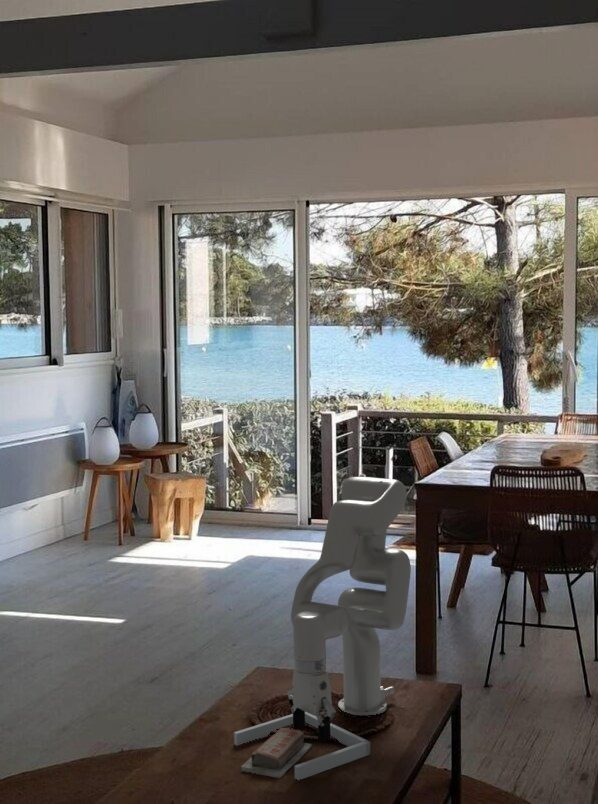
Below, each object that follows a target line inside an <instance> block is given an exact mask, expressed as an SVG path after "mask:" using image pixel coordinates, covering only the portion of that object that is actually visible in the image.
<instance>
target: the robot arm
mask: <svg viewBox="0 0 598 804" xmlns="http://www.w3.org/2000/svg"><path fill="white" fill-rule="evenodd" d="M407 494H408V492H407V489H406V486H405V485H404V483H403V482H402V481H400V480H398V479H393V478H383V477H381V478H380V477H372V476H352V477H348V478H345V479H344V481H343V482H342V485H341V497H342V500H338V501H336V502H334V503H333V504H332V506H331V508H330V510H329V516H328V519H327V524H326V529H325V534H324V538H323V543H322V549H321V552H320V553H321V554H320V557H319V559H318V560H317V561H316V562H315V563H314V564H313V565H312V566H311V567H309V569H308V570H307V571H305V574H304V575H303V576H302V577H301V579H300V580H299V582H298V584H297V585H296V588H295V592H294V596H293V600H292V601H293V602H292V605H291V613H290V618H291V619H290V620H291V621H290V622H291V624H292V626H293V629H292V630H293V632H292V633H293V659H294V660H293V663H294V665H293V673H292V685H291V686H292V687H291V689H289V690H287V691H286V694H287V696H288V699H289V700H288V702H289V705H290V707H291V708H290V711H291V713H292V714H293V728H292V729H296V730H300V729H301V728H305V727H306V725H305V712H307V713H310V714H312V715H314V716H316V717H317V719H318V721H319V724H320V725H318V731H317V737H318V738H317V739H318V742H319V743H323V742H326V741H328V740H330V739H331V738H330V724H331V723H332V724H333V721H334V719H335V715H336V713H337V710H336V709H335V707H334V706H333V703H332V702H333V701H332V699H333V698H332V690H331V689H332V688H331V681H330V677H329V672H328V671H327V660H326V659H327V658H326V656H327V654H326V653H327V652H326V651H327V650H326V649H327V648H326V645H327V644H326V640H330V639H334V638H337V637H341V636H342V665H343V666H342V672H343V676H342V677H343V698H342V699H340V700H339V701H338V703H337V708H338V707H339V708H340V709H341V710H342V711H344V712H347V713H350V714H353V715H375V716H377V715H376V714H378V715H380V713H381V714H382V713H384V712H386V710H387V709H388V704H387V703H388V702H387V700H385V698H386V697H387V696H391V695H393V694H395V688H394V686H388V687H386V688H385V687H384V686H383V685H381V653H380V652H381V643H380V638H379V635H378V633H377V631H376V629H379V630H386V631H396V630H399V629H400V628H401V627H402V626H403V624H404V622H405V617H406V613H407V606H408V600H409V599H408V598H409V590H410V582H411V581H410V580H411V573H412V569H411V568H412V567H411V566H412V565H411V560H410V558H409V557H410V556H408V554H407V553H406V552H405V551H404V550H401V549H399V548H391V547H390V548H389V547H386V543H387V542H386V541H387V531H388V528H389V527H390V526H391V525H392V523H394V521H395V519H397V517H398V516H399V514H400V513H401V512H402V510H403V509H404V507H405V504H406V501H407V497H408V495H407ZM347 571H349V575H350V577H351V578H352V579H353V580H354V581H355V582H360V583H365V584H373V585H377V586H385V590H379V589H375V588H374V589H373V588H366V587H350V588H347V589H345V590H343V591H342V593H340V595H339V597H338V600H337V605H336V604H330V603H324V602H317V601H312V600H313V596H314V593H315V590H317V588H318V586H319V585H320V584H322V583H323V582H324V581H325V580H327V579H329V578H331V577H333V576H335V575H338V574H341V573H344V572H347ZM322 716H323V717H324V718H323V717H322Z"/></svg>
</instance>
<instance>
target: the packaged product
mask: <svg viewBox="0 0 598 804" xmlns="http://www.w3.org/2000/svg"><path fill="white" fill-rule="evenodd" d="M304 737H305V733H304V732H303V731H301V730H300V729H293V728H291V729H290V728H280V729H279V730H278V731H277V732H276V733H275V734H273V735H270V737H269V738H268V739H267V740H265V741H263V743H262V744H261V745H260V746H258V748H257V749H255V750H254V751H253V752H252V754H251V756H250V758H248V760H246V761H245V762H244V763H243V764H242V765H241V766H240V767H241V768H240V769H241V772H244V771H245V772H244V773H249V772H251V773H250V774H254V773H256V774H255V775H259V774H260V775H261V776H267V777H272V778H276V779H277V778H278V779H280V778H282V777H283V776H284V775H285V774H286V773H287V771H288V770H290V769H291V768H292V767H293V766H295V764H297V762H299V761H300V760H301V758H302V757H303V756H304V755H305V754H306V753H307V752H308V751H310V749H311V748H312V747H313V744H312V743H307V742H304V740H305V738H304Z"/></svg>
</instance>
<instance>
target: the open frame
mask: <svg viewBox="0 0 598 804" xmlns="http://www.w3.org/2000/svg"><path fill="white" fill-rule="evenodd" d="M305 722H306V723H308V724H310V725H312V726H314V727H316V728H318V725H320V724H319V721H318V719H317V717H316V716H314V715H312V714H310V713H307V712H305ZM291 724H293V713H291V714H289V715H285V716H282V717H281V716H280V717H278V718H275V719H272V720H269V721H266V722H262V723H259V724H256V725H254V726H250V727H246V728H244V729H239V730H237V731H234V732H233V742H234V743H233V744H234V745H235V746H236V747H239V746H242V745H244V744H243V743H245V744H248V743H250V742H249V741H251V742H253V741H252V740H254V741H256V740H255V739H257V740H260V739H264V738H266V737H269V736H270V735H269V734H270V732H271V731H273V730H276V729H279V728H281V727H284V726H287V725H291ZM268 735H269V736H268ZM330 735H331V736H333V737H335V738H336V739H337V740H338V741H339V742H338V741H337V742H338V743H340V744H342V745H344V746H346V747H343V748H342V749H338V750H336V751H333V752H330V753H327V754H325V755H322V756H319V757H316V758H312V759H310V760H308V761H307V760H306V761H305V762H302V763H299V764H296V765H295V764H294V779H295V780H296V779H297V780H296V781H301V780H303V779H306V778H309V777H311V776H314V775H317V774H319V773H322V772H323V773H324V772H325V771H327V770H331V769H333V768H336V767H339V766H342V765H345V764H347V763H351V762H354V761H356V760H358V759H361V758H364V757H366V756H369V755H371V741H369V740H367V739H365V738H363V737H361V736H359V735H358V734H357V735H356V734H355V733H352V732H351V731H348V730H346V729H344V728H343V727H339V726H338V725H336V724H334V723H333V722H332V723H331V724H330ZM259 738H260V739H259ZM247 742H248V743H247ZM241 744H242V745H241ZM238 745H239V746H238ZM300 779H301V780H300Z"/></svg>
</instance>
